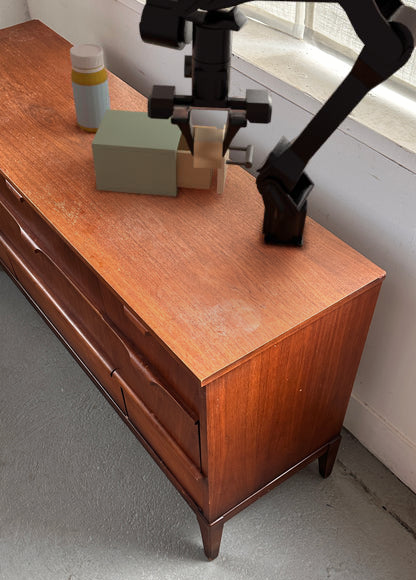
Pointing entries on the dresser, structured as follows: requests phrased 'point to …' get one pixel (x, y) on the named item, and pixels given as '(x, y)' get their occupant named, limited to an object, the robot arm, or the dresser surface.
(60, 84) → the dresser surface
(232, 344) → the dresser surface
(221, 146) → the block
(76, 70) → the bottle
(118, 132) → the cabinet
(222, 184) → the drawer
